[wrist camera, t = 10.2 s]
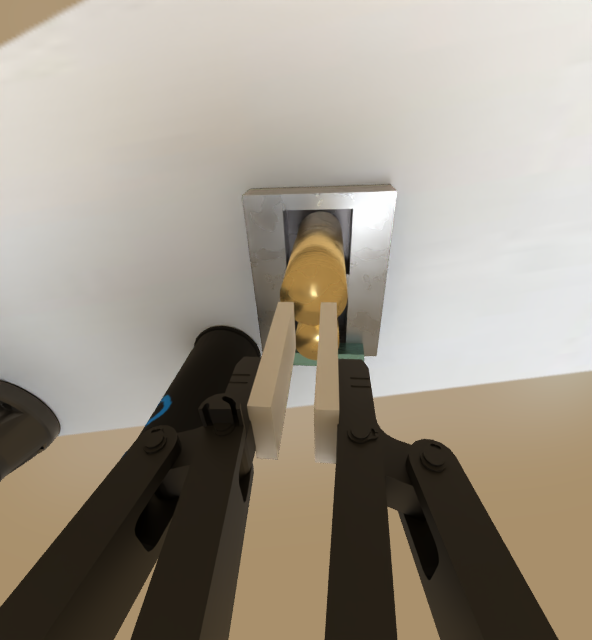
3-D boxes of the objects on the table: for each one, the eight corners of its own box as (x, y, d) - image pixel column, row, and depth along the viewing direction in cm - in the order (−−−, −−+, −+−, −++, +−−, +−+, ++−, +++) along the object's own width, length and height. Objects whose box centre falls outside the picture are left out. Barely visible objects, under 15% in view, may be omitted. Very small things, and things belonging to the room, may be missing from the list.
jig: (267, 336, 35) (256, 374, 30) (250, 188, 27) (230, 204, 21) (373, 339, 34) (380, 378, 29) (390, 184, 25) (406, 200, 20)
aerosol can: (264, 332, 35) (202, 523, 18) (257, 383, 40) (203, 572, 23) (194, 319, 35) (68, 498, 18) (195, 371, 40) (95, 552, 23)
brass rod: (298, 254, 29) (281, 324, 19) (297, 211, 27) (277, 265, 17) (340, 254, 29) (345, 326, 19) (343, 211, 27) (350, 266, 17)
